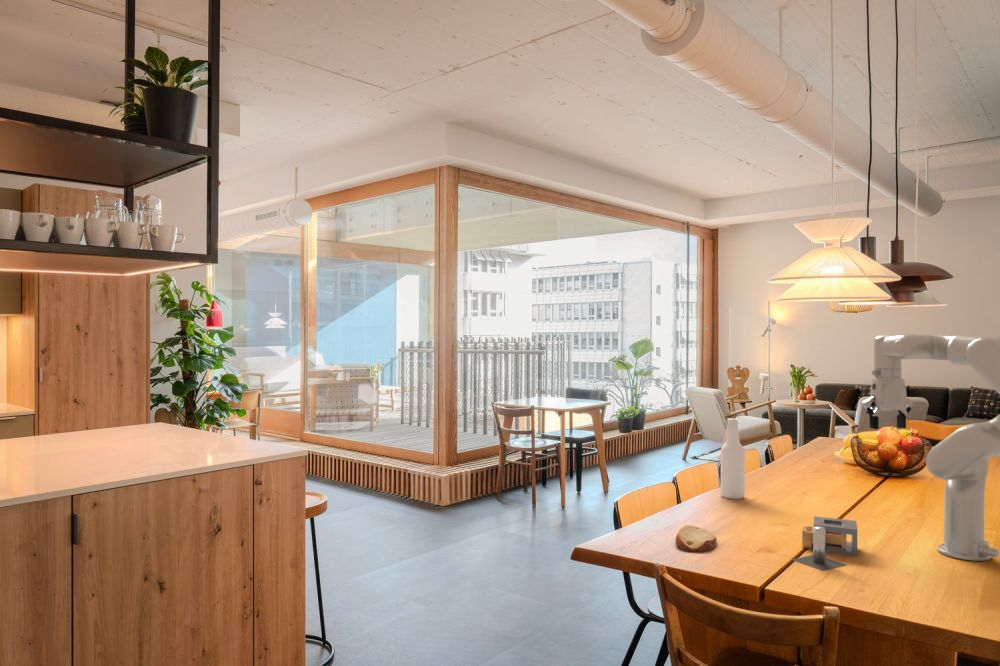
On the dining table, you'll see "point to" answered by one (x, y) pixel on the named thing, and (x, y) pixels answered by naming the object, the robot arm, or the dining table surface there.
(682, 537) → the slice of bread
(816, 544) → the pin
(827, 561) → the mat
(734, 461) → the alcohol
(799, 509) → the dining table surface
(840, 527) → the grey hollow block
